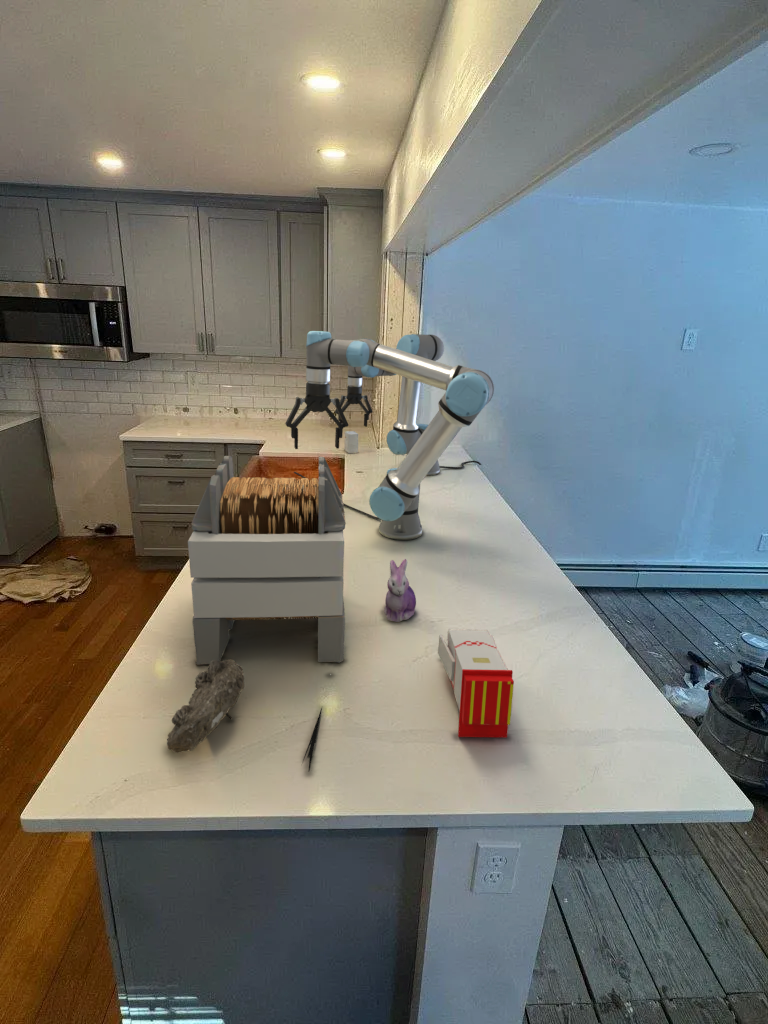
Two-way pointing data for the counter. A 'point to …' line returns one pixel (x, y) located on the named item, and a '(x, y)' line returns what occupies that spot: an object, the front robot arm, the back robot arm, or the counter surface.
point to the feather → (313, 740)
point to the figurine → (399, 594)
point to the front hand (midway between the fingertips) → (316, 447)
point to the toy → (478, 682)
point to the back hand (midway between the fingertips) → (353, 426)
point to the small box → (351, 442)
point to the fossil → (206, 705)
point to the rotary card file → (267, 557)
